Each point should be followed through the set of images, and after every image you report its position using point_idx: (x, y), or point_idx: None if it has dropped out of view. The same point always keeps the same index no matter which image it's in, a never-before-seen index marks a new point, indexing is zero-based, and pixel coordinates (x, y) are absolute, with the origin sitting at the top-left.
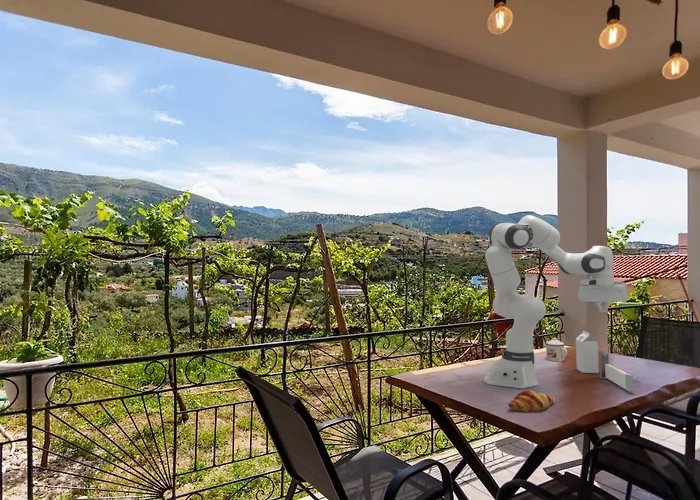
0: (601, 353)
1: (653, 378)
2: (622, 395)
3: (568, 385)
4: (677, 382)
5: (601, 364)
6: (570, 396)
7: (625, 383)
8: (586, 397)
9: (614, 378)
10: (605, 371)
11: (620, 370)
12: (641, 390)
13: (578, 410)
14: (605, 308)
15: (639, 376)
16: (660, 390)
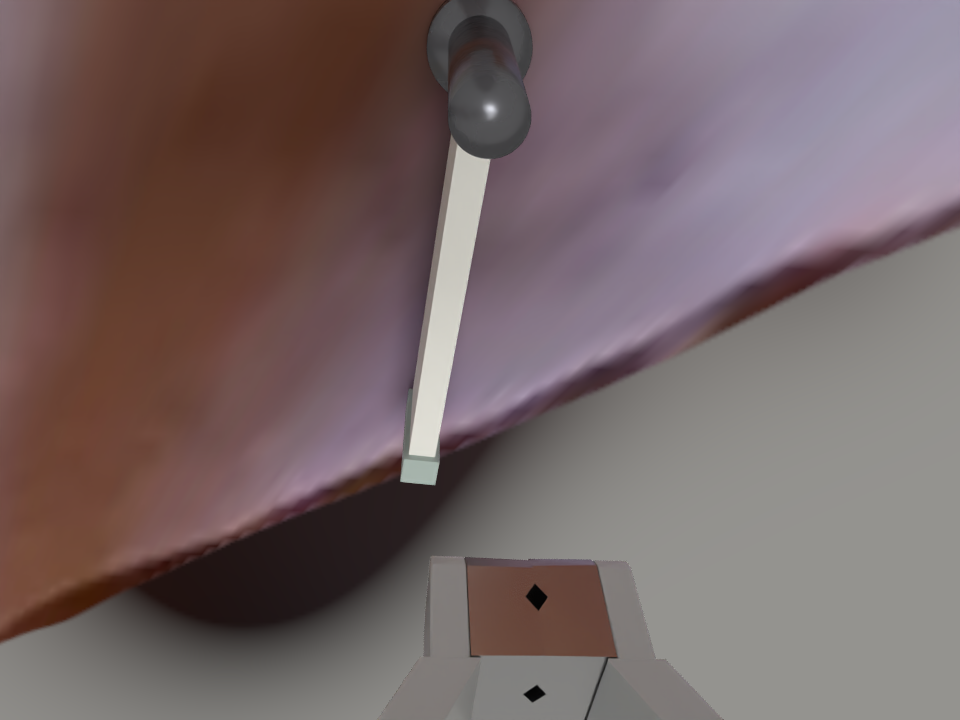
0: (468, 90)
1: (879, 93)
2: (353, 420)
3: (76, 218)
4: (933, 216)
5: (448, 78)
6: (37, 418)
7: (412, 403)
8: (128, 436)
9: (434, 260)
10: None
11: (446, 356)
12: (530, 352)
13: (33, 568)
14: (559, 713)
15: (828, 15)
16: (644, 360)
